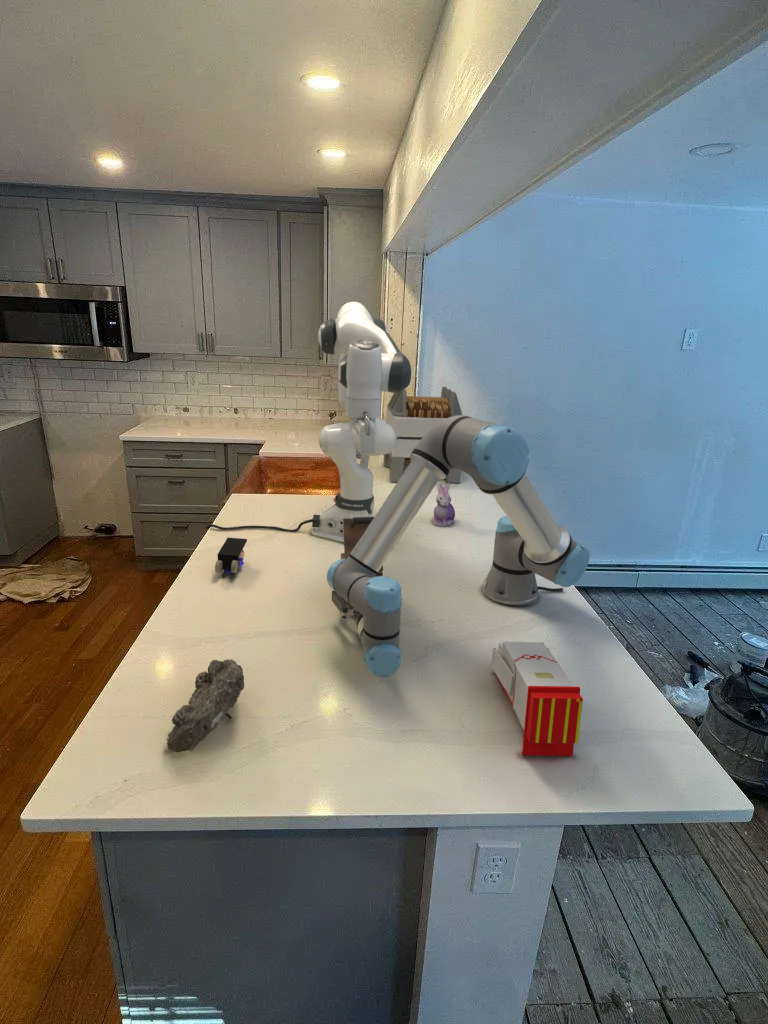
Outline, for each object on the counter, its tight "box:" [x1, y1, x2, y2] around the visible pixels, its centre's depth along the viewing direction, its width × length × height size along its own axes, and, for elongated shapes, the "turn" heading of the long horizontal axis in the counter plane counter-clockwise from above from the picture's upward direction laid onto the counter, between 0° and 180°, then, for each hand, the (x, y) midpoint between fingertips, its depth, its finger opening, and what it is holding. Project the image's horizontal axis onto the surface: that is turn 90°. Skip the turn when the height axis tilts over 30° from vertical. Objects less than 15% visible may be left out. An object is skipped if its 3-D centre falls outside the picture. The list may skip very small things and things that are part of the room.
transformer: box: [383, 386, 463, 484], centre depth 268 cm, size 34×33×41 cm
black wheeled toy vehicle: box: [214, 537, 248, 578], centre depth 166 cm, size 7×8×15 cm
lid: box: [343, 516, 384, 572], centre depth 142 cm, size 14×10×8 cm
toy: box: [490, 641, 584, 757], centre depth 113 cm, size 12×13×30 cm
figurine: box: [432, 482, 456, 527], centre depth 210 cm, size 9×10×15 cm
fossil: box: [166, 658, 245, 754], centre depth 106 cm, size 22×10×15 cm
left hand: (361, 463), depth 145 cm, fingers open, 8 cm apart
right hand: (361, 580), depth 149 cm, fingers closed on chest, 10 cm apart
